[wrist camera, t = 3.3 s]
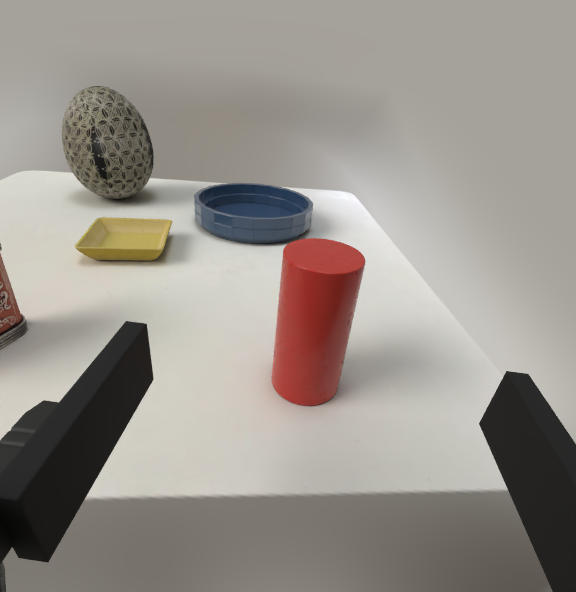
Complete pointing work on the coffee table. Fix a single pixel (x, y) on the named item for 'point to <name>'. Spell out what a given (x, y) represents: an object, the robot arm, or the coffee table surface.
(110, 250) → the saucer
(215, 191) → the dish
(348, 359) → the coffee table surface
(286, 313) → the cylinder
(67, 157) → the decorative egg
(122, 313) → the coffee table surface
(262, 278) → the coffee table surface
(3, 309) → the lighter
